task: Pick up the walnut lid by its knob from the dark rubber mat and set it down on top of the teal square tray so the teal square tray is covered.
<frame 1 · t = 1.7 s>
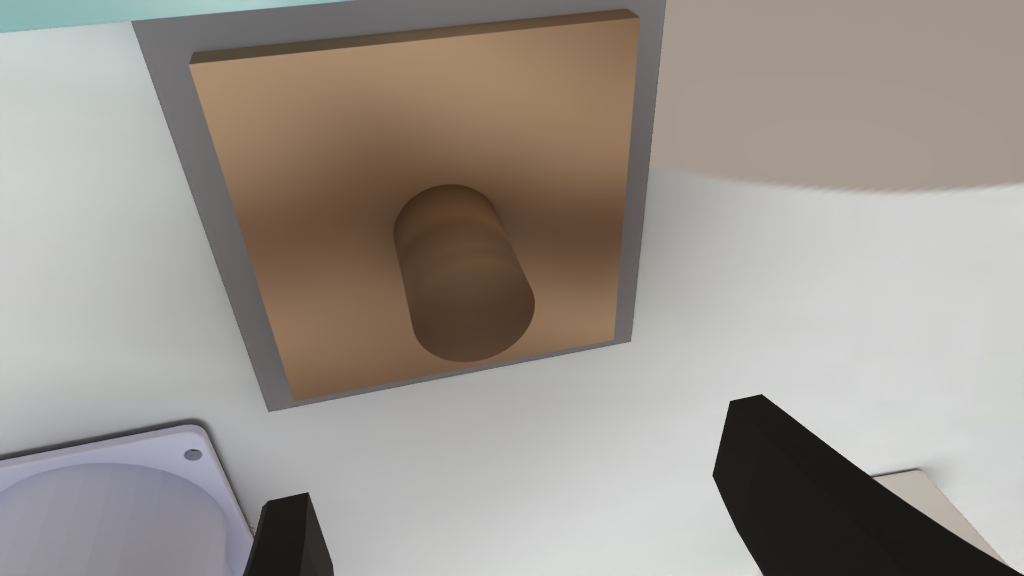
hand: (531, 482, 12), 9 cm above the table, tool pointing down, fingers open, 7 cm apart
mat: (439, 209, 19), on the table
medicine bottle: (834, 517, 36), on the table
lid: (442, 216, 19), resting on mat
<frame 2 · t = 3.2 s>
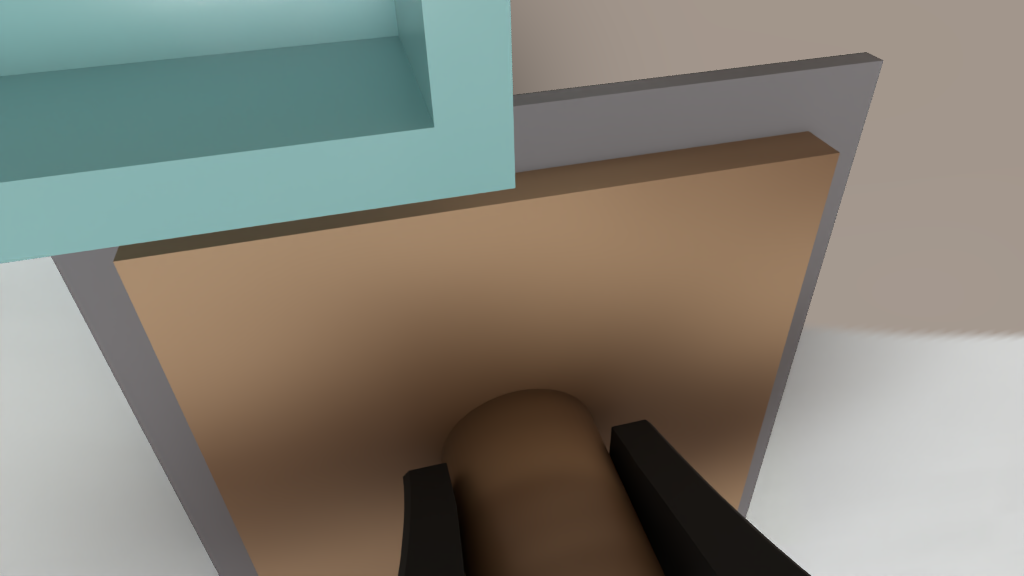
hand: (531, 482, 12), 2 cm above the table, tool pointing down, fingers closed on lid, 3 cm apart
mat: (503, 398, 13), on the table
lid: (508, 413, 13), resting on mat, touching gripper
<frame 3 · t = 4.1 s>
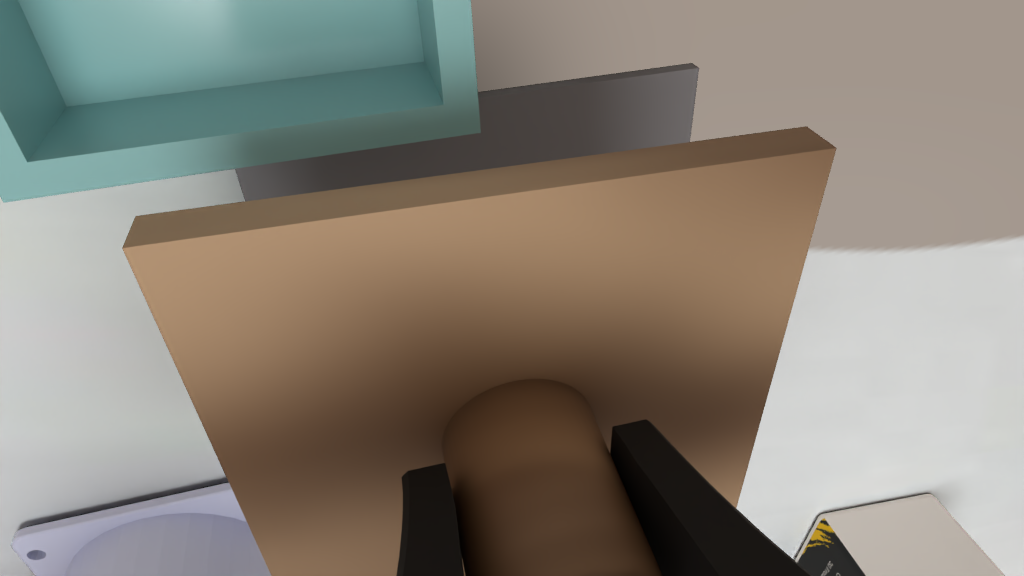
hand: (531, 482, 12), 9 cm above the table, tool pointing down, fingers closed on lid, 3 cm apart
mat: (487, 283, 21), on the table
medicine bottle: (849, 538, 38), on the table
lid: (509, 403, 13), point 8 cm above the table, touching gripper
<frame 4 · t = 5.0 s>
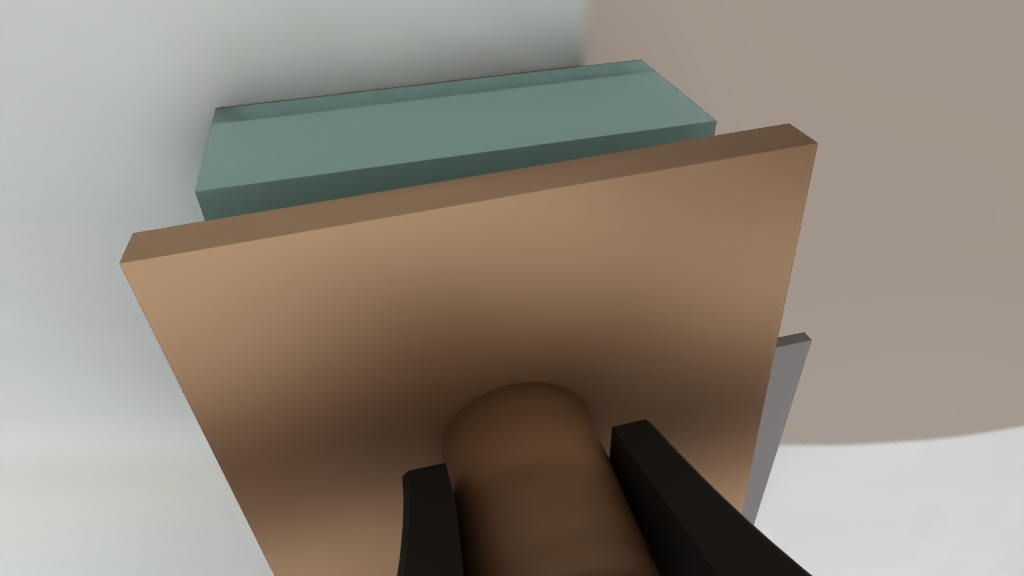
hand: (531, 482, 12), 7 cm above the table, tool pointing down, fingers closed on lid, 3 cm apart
mat: (617, 489, 25), on the table
teal square tray: (456, 259, 17), on the table
lid: (508, 408, 13), point 5 cm above the table, touching gripper
when the fingers open (6 cm above the table, at t = 5.5 s): lid stays where it is, resting on teal square tray.
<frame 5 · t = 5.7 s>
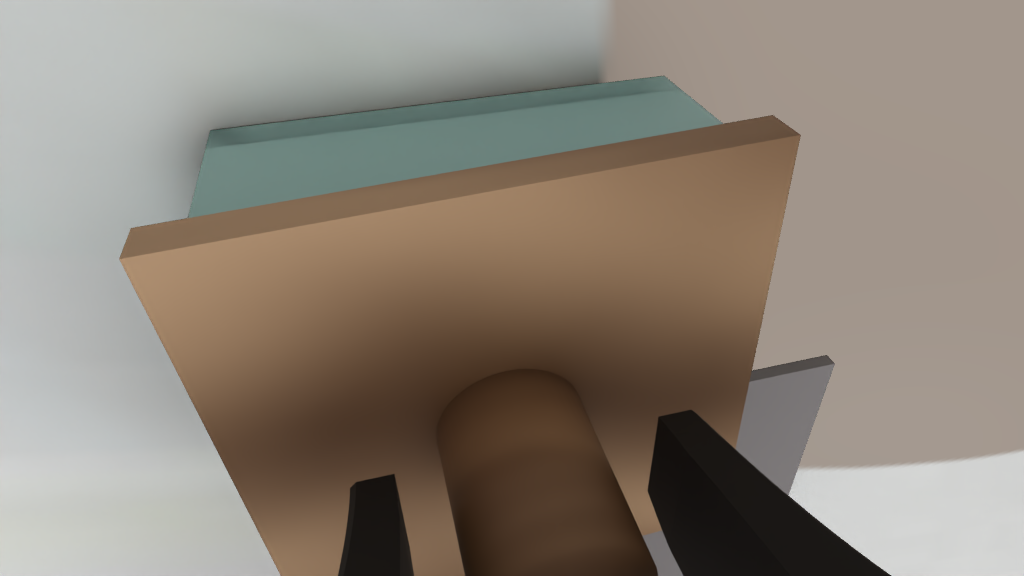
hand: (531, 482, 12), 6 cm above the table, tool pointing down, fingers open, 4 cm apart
mat: (629, 515, 24), on the table
teal square tray: (466, 285, 16), on the table
lid: (500, 394, 13), point 3 cm above the table, touching teal square tray
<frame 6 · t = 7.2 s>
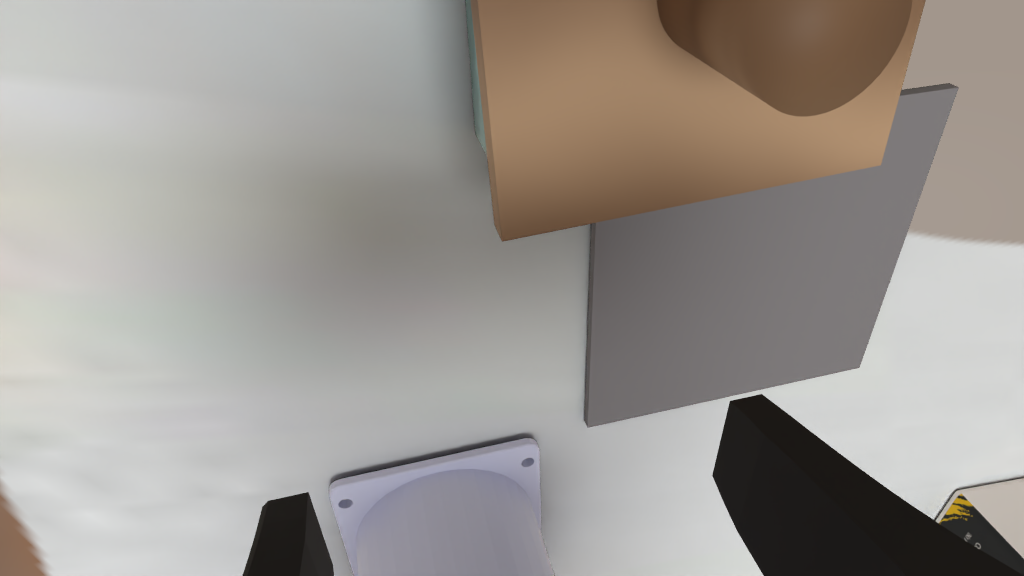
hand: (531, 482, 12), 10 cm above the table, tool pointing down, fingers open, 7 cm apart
mat: (748, 268, 24), on the table
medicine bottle: (973, 515, 41), on the table
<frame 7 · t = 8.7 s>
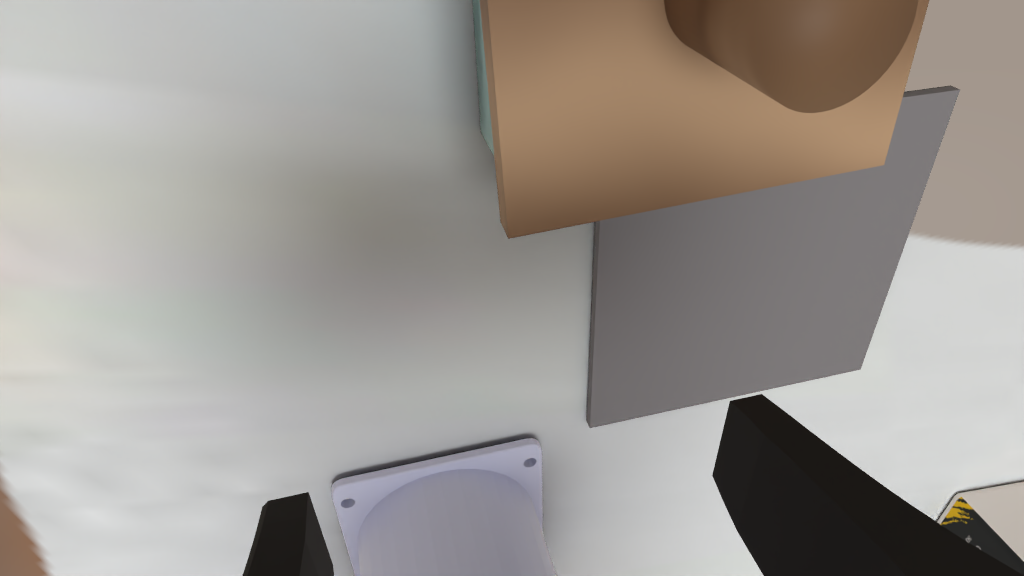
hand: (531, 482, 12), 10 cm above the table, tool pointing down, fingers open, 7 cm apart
mat: (750, 269, 24), on the table
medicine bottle: (973, 519, 41), on the table
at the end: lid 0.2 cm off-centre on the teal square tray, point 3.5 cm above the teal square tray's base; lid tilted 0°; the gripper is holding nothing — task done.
